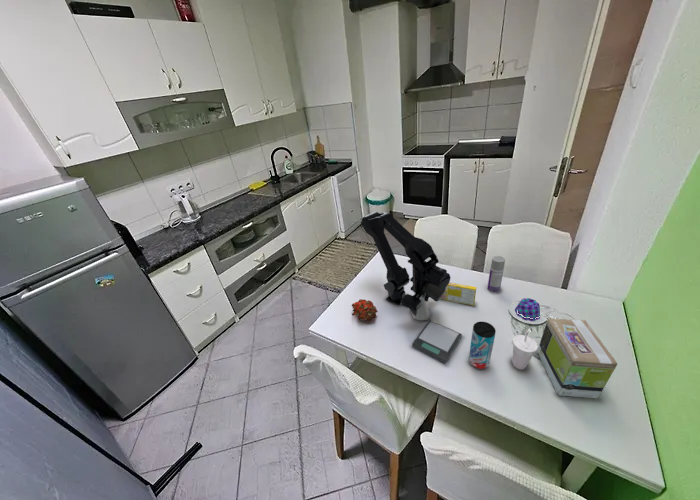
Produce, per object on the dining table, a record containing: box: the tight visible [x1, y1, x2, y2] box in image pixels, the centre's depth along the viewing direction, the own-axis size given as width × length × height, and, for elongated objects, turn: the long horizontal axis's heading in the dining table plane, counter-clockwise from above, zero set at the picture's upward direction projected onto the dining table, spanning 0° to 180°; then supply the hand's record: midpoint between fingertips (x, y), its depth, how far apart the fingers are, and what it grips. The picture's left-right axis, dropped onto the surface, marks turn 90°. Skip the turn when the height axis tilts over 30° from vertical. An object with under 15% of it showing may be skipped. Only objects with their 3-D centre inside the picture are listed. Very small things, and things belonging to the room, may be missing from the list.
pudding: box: [508, 297, 548, 325], centre depth 101 cm, size 12×12×5 cm
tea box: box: [536, 318, 618, 399], centre depth 77 cm, size 15×10×15 cm, turn 170°
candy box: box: [439, 282, 477, 307], centre depth 111 cm, size 16×2×8 cm, turn 63°
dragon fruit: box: [351, 298, 379, 322], centre depth 110 cm, size 8×8×12 cm
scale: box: [411, 320, 463, 365], centre depth 96 cm, size 12×13×2 cm
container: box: [487, 255, 506, 293], centre depth 111 cm, size 5×5×15 cm
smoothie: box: [511, 330, 539, 370], centre depth 82 cm, size 6×6×14 cm
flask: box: [410, 296, 431, 321], centre depth 106 cm, size 7×7×10 cm
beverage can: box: [468, 321, 497, 370], centre depth 84 cm, size 6×6×15 cm
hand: (420, 307), depth 107 cm, fingers open, 9 cm apart
